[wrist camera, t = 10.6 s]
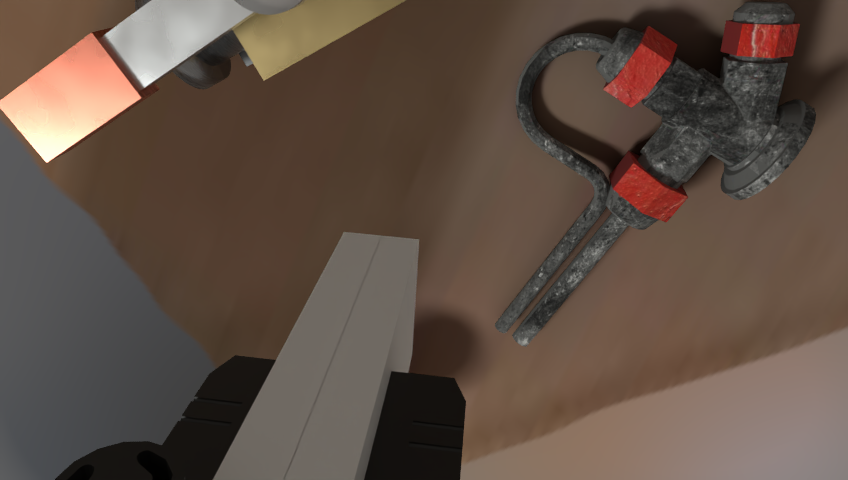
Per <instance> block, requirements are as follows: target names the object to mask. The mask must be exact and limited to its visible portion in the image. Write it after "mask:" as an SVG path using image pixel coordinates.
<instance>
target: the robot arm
mask: <svg viewBox="0 0 848 480" xmlns="http://www.w3.org/2000/svg"><path fill="white" fill-rule="evenodd" d="M418 250H419V239H409V238H399V237H389V236H379V235H369V234H358V233H348V232H344V233H343V235H342V237H341V239H340V241H339V243H338V244H337V246H336V248H335V250H334V252H333V254H332V256H331V258H330V260H329V261H328V263H327V265H326V267H325V269H324V271H323V273H322V275H321V277H320V278H319V280H318V282H317V284H316V286H315V288H314V290H313V292H312V294H311V295H310V297H309V299H308V301H307V303H306V305H305V307H304V309H303V310H302V312H301V314H300V316H299V318H298V320H297V322H296V324H295V326H294V327H293V329H292V331H291V333H290V335H289V337H288V339H287V341H286V343H285V344H284V346H283V348H282V350H281V352H280V354H279V356H278V358H277V360H271V359H263V358H254V357H245V356H236V355H235V356H234V357H232V358H231V359H230V360H228V361H227V362H225V363H224V364H222V365H221V366H220V367H218V368H217V369H215V370H214V371H213V372H212V373H210V374H209V375H208V377H207V378H206V380H205V382H204V383H203V384H202V386H201V387H200V389H199V390H198V392H197V393H196V395H195V397H194V401H193V402H192V401H191V403H190V404H189V405H188V407H187V409H186V410H185V412H184V413H183V415H182V416H181V421H178V422H177V424H176V425H175V427H174V428H173V430H172V431H171V432H170V434H169V436H168V437H167V439H166V440H165V442H164V443H163V445H158V444H155V443H152V442H148V441H147V442H146V441H144V442H122V443H118V444H114V445H111V446H107V447H104V448H100V449H97V450H95V451H93V452H91V453H90V454H88V455H86V456H84V457H82V458H80V459H78V460H76V461H74V462H73V463H72V464H71V465H70V466H69V467H68V468H67V469H66V470H64V471H63V472H62V473H61V474H60V475H59V476H58V477H57V478H56V479H55V480H460V470H461V459H462V446H463V433H464V432H463V431H464V419H465V406H466V401H465V399H464V397H463V395H462V393H461V391H460V389H459V387H458V385H457V383H456V381H455V379H454V378H448V377H439V376H430V375H422V374H413V373H408V372H409V367H410V362H411V358H412V350H413V333H414V317H415V300H416V283H417V266H418Z"/></svg>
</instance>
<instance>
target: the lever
mask: <svg viewBox="0 0 848 480" xmlns="http://www.w3.org/2000/svg"><path fill="white" fill-rule="evenodd" d="M305 1H307V0H151V1H150V2H148V3H147V4H146V5H144V6H143V7H141V8H140V9H139V10H137V11H136V12H135V13H133V14H132V15H131V16H129V17H128V18H127V19H125V20H124V21H122V22H121V23H120V24H118V25H117V26H116V27H114V28H109V29H104V30H100V31H96V32H92V33H90V34H89V35H88V36H86V37H85V38H84V39H82V40H81V41H80V42H78V43H77V44H76V45H74V46H73V47H72V48H70V49H69V50H68V51H66V52H65V53H64V54H62V55H61V56H60V57H58V58H57V59H56V60H54V61H53V62H51V63H50V64H49V65H47V66H46V67H45V68H43V69H42V70H41V71H39V72H38V73H37V74H35V75H34V76H33V77H31V78H30V79H29V80H27V81H26V82H25V83H23V84H22V85H21V86H19V87H18V88H17V89H15V90H14V91H13V92H11V93H10V94H9V95H7V96H6V97H4V98H3V99H2V100H0V108H1V109H2V110H3V112H4V113H5V114H6V115H7V116H8V118H9V119H10V120H11V121H12V122H13V123H14V125H15V126H16V127H17V128H18V129H19V131H20V132H21V133H22V134H23V135H24V136H25V138H26V139H27V140H28V141H29V142H30V144H31V145H32V146H33V147H34V148H35V149H36V151H37V152H38V153H39V154H40V155H41V157H42V158H43V159H44V160H45V161H46V162H49V161H51V160H53V159H55V158H57V157H59V156H61V155H63V154H65V153H67V152H68V151H70V150H71V149H73V148H74V147H76V146H77V145H79V144H80V143H82V142H83V141H85V140H86V139H88V138H89V137H91V136H92V135H93V134H95V133H96V132H98V131H99V130H101V129H102V128H104V127H105V126H107V125H108V124H110V123H111V122H113V121H114V120H115V119H117V118H118V117H120V116H121V115H123V114H124V113H126V112H127V111H129V110H130V109H132V108H133V107H134V106H136V105H137V104H139V103H140V102H142V101H143V100H145V99H146V98H148V97H149V96H151V95H152V94H154V93H155V92H156V91H158V90H159V88H158V87H157V85H156V84H155V83H156V82H158V81H159V80H160V79H162V78H163V77H165V76H166V75H168V74H169V73H171V72H172V71H174V70H175V69H176V68H178V67H179V66H181V65H182V64H184V63H185V62H187V61H188V60H190V59H191V58H192V57H194V56H195V55H197V54H198V53H200V52H201V51H203V50H204V49H206V48H207V47H208V46H210V45H211V44H213V43H214V42H216V41H217V40H219V39H220V38H222V37H223V36H224V35H226V34H227V33H229V32H230V31H232V30H233V29H235V28H236V27H238V26H239V25H240V24H242V23H243V22H245V21H246V20H248V19H249V18H251V17H252V16H253V15H255V14H256V13H259V14H265V15H272V14H279V13H282V12H285V11H288V10H290V9H293V8H296V7H298V6H299V5H301V4H303V3H304V2H305Z"/></svg>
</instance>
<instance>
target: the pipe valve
mask: <svg viewBox="0 0 848 480" xmlns="http://www.w3.org/2000/svg"><path fill="white" fill-rule="evenodd" d="M150 1H151V0H135V8H136V11H137V10H139V9H140V8H141V7H143V6H144V5H146V4H147V3H148V2H150ZM404 1H406V0H307V1H305V2H304V3H303V4H301V5H299V6H298V7H296V8H293V9H290V10H288V11H285V12H282V13H279V14H272V15H265V14H259V13H256V14H255V15H253V16H252V17H251V18H249V19H248V20H246V21H245V22H243V23H242V24H240V25H239V26H238V27H236V28H235V29H233V30H232V31H230V32H229V33H227V34H226V35H224V36H223V37H222V38H220V39H219V40H217V41H216V42H214V43H213V44H211V45H210V46H208V47H207V48H206V49H204V50H203V51H201V52H200V53H198V54H197V55H195V56H194V57H192V58H191V59H190V60H188V61H187V62H185V63H184V64H182V65H181V66H179V67H178V68H176V69H175V70H174V71H172V72H173V73H175V74H176V75H177V76H178V77H179V78H180V79H182V80H183V81H184V82H186V83H187V84H189V85H191V86H193V87H195V88H198V89H208V88H210V87H212V86H213V85H215V84H217V83H218V82H220V81H222V80H224V79H225V78H227V77H228V76H229V74H230V70H231V62H230V58H231V57H233V56H235V55H236V54H238V53H239V55H240V56H241V58H242V59H243V61H244V63H245V64H246V66H249V65H250V64H252V63H253V64H254V65H255V67H256V69H257V70H258V72H259V74H260V75H261V77H262V78H263V80H266V79H268V78H269V77H271V76H273V75H275V74H276V73H278V72H280V71H282V70H284V69H285V68H287V67H289V66H291V65H292V64H294V63H296V62H298V61H299V60H301V59H303V58H305V57H307V56H308V55H310V54H312V53H314V52H315V51H317V50H319V49H321V48H322V47H324V46H326V45H328V44H330V43H331V42H333V41H335V40H337V39H338V38H340V37H342V36H344V35H345V34H347V33H349V32H351V31H353V30H354V29H356V28H358V27H360V26H361V25H363V24H365V23H367V22H368V21H370V20H372V19H374V18H376V17H377V16H379V15H381V14H383V13H384V12H386V11H388V10H390V9H391V8H393V7H395V6H397V5H399V4H400V3H402V2H404Z"/></svg>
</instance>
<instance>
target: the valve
mask: <svg viewBox="0 0 848 480" xmlns="http://www.w3.org/2000/svg"><path fill="white" fill-rule="evenodd" d="M794 17H795V13H794V12H793V10H792V9H791V8H790V7H789V5H788V4H787V3H778V2H746V3H745V4H743V5H742V6H741V7H740V8H738V9H737V10H736V11H734V16H733V20H729V21H726V24H725V30H724V35H723V41H722V46H721V52H724V53H728V54H729V56H728V57H723V61H722V67H721V73H720V78H717V77H716V76H714V75H713V74H711V73H710V72H708V71H707V70H705V69H703V68H701V69H699V70H695V69H694V68H692V67H691V66H689V65H687V64H686V63H684V62H683V61H681V60H680V59H678V58H677V57H675V56H674V54H675V51H676V48H677V44H676V43H674V42H673V41H671V40H670V39H668V38H667V37H665V36H664V35H662V34H661V33H659V32H658V31H656V30H655V29H653V28H652V27H650V26H647V27H646V28H645V29H644V30H643V31H642V32H639V31H636V30H633V29H629V28H626V27H624V28H622V29H620V30H619V31H618V32H617V33H616V35H615V36H614V37H613V38H612V39H610V38H608V37H606V36H602V35H598V34H593V33H574V34H570V35H565V36H561V37H559V38H557V39H555V40H553V41H551V42H549V43H547V44H546V45H545V46H543V47H542V48H541V49H539V50H538V51H537V52H536V53H535V54H534V55H533V57H532V58H531V59H530V60H529V61H528V63H527V64H526V66H525V68H524V70H523V72H522V74H521V76H520V78H519V82H518V86H517V90H516V109H517V114H518V119H519V121H520V123H521V125H522V127H523V130H524V131H525V133H526V134H527V135H528V137H529V138H530V139H531V141H532V142H533V143H535V144H536V145H537V146H538V147H540V148H541V149H542V150H543V151H545V152H546V153H548V154H549V155H551V156H552V157H554V158H556V159H557V160H559V161H560V162H562V163H563V164H565V165H566V166H568V167H569V168H571V169H572V170H574V171H576V172H577V173H579V174H580V175H582V176H583V177H585V178H586V179H588V180H589V181H590V182H591V183H592V185H593V187H594V191H595V193H594V198H593V199H592V201H591V203H590V204H589V205H588V207H587V208H586V209H585V210H584V212H583V213H582V214H581V215H580V217H579V218H578V219H577V221H576V222H575V223H574V224H573V226H572V227H571V228H570V229H569V231H568V232H567V233H566V234H565V236H564V237H563V238H562V240H561V241H560V242H559V243H558V245H557V246H556V247H555V248H554V250H553V251H552V252H551V253H550V255H549V256H548V257H547V259H546V260H545V261H544V262H543V264H542V265H541V266H540V267H539V269H538V270H537V271H536V273H535V274H534V275H533V276H532V278H531V279H530V280H529V281H528V283H527V284H526V285H525V286H524V288H523V289H522V290H521V292H520V293H519V294H518V295H517V297H516V298H515V299H514V300H513V302H512V303H511V304H510V306H509V307H508V308H507V309H506V311H505V312H504V313H503V314H502V316H501V317H500V318H499V319H498V321H497V322H496V323H495V327H496V329H497V330H499V331H500V332H502V333H506V332H507V331H508V330H509V328H510V327H511V326H512V325H513V323H514V322H515V321H516V320H517V318H518V317H519V316H520V315H521V313H522V312H523V311H524V310H525V308H526V307H527V306H528V305H529V304H530V302H531V301H532V300H533V299H534V297H535V296H536V295H537V294H538V292H539V291H540V290H541V289H542V287H543V286H544V285H545V284H546V282H547V281H548V280H549V279H550V277H551V276H552V275H553V274H554V272H555V271H556V270H557V269H558V268H559V266H560V265H561V264H562V263H563V261H564V260H565V259H566V258H567V256H568V255H569V254H570V253H571V251H572V250H573V249H574V248H575V246H576V245H577V244H578V243H579V241H580V240H581V239H582V238H583V237H584V235H585V234H586V233H587V232H588V230H589V229H590V228H591V227H592V225H593V224H594V223H595V222H596V220H597V219H598V218H599V217H600V215H601V214H602V213H603V212H604V210H605V208H606V206H607V207H608V209H609V210H610V211H611V212H612V214H611V215H610V216H609V217H608V219H607V220H606V221H605V222H604V223H603V225H602V226H601V227H600V228H599V230H598V231H597V232H596V233H595V234H594V236H593V237H592V238H591V239H590V241H589V242H588V243H587V244H586V245H585V247H584V248H583V249H582V250H581V252H580V253H579V254H578V255H577V256H576V258H575V259H574V260H573V261H572V263H571V264H570V265H569V266H568V267H567V269H566V270H565V271H564V272H563V274H562V275H561V276H560V277H559V278H558V280H557V281H556V282H555V283H554V284H553V286H552V287H551V288H550V289H549V291H548V292H547V293H546V294H545V295H544V297H543V298H542V299H541V300H540V302H539V303H538V304H537V305H536V306H535V308H534V309H533V310H532V311H531V313H530V314H529V315H528V316H527V317H526V319H525V320H524V321H523V322H522V324H521V325H520V326H519V327H518V328H517V330H516V331H515V332H514V333H513V335H512V336H513V338H514V340H515V341H516V342H517V343H518V344H520V345H522V346H527V345H528V344H529V343H530V342H531V340H532V339H533V338H534V337H535V336H536V334H537V333H538V332H539V331H540V330H541V329H542V327H543V326H544V325H545V324H546V323H547V321H548V320H549V319H550V318H551V317H552V315H553V314H554V313H555V312H556V311H557V310H558V308H559V307H560V306H561V305H562V304H563V302H564V301H565V300H566V299H567V298H568V297H569V295H570V294H571V293H572V292H573V291H574V289H575V288H576V287H577V286H578V285H579V283H580V282H581V281H582V280H583V279H584V278H585V276H586V275H587V274H588V273H589V272H590V270H591V269H592V268H593V267H594V266H595V265H596V263H597V262H598V261H599V260H600V259H601V257H602V256H603V255H604V254H605V253H606V252H607V250H608V249H609V248H610V247H611V246H612V244H613V243H614V242H615V241H616V240H617V238H618V237H619V236H620V235H621V234H622V233H623V231H624V230H625V229H626V228H627V227H628V225H629V226H631V227H633V228H636V229H641V230H643V229H646V228H647V227H649V226H650V225H652V224H653V223H655V222H656V221H658V220H662V221H664V222H667V221H668V220H669V219H670V218H671V216H672V215H673V214H674V213H675V212H676V211H677V210H678V208H679V207H680V206H681V205H682V204H683V203H684V202H685V200H686V199H687V198H688V196H687V194H686V192H685V190H684V189H683V187H682V185H681V184H682V183H683V182H687V181H688V180H689V179H690V178H691V177H692V176H693V174H694V173H695V172H696V171H697V170H698V168H699V167H700V166H701V165H702V164H703V163H704V161H705V160H706V159H707V158H708V157H709V155H713V156H715V157H716V158H718V159H719V160H721V161H723V162H724V166H725V168H724V172H723V175H722V178H721V189H722V191H723V192H724V193H726V194H727V195H729V196H730V197H732V198H733V199H736V200H742V199H746V198H749V197H751V196H753V195H755V194H757V193H758V192H760V191H761V190H763V189H764V188H765V187H767V186H768V185H769V184H770V183H772V182H773V181H774V180H775V179H776V178H777V177H778V176H779V175H780V174H781V173H782V172H783V171H784V170H785V169H786V168H787V167H788V166H789V165H790V164H791V162H792V161H793V160H794V159H795V158H796V156H797V155H798V154H799V152H800V151H801V149H802V148H803V146H804V145H805V143H806V142H807V140H808V138H809V136H810V134H811V132H812V129H813V126H814V124H815V118H816V113H815V110H814V108H812V107H811V106H809V105H808V104H806V103H805V102H803V101H802V100H792V101H789V102H786V103H784V104H783V105H781V106H779V107H778V103H779V99H780V95H781V91H782V86H783V82H784V78H785V74H786V69H787V65H788V63H787V62H785V61H783V60H781V59H782V57H788V56H793V53H794V48H795V44H796V39H797V35H798V31H799V26H800V24H798V23H793V21H794ZM576 50H589V51H593V52H597V53H600V54H601V56H600V58H599V59H598V61H597V63H596V69H597V70H598V71H599V73H600V74H601V75H602V76H603V78H604V79H605V80H606V81H607V82H606V84H605V86H604V88H603V90H605V91H606V92H608V93H609V94H611V95H612V96H614V97H615V98H617V99H618V100H620V101H622V102H623V103H625V104H626V105H628V106H629V107H633V106H634V105H635V104H637V103H638V102H639V101H641V100H642V103H643V105H645V106H646V107H648V108H649V109H651V110H652V111H654V112H655V113H657V114H658V115H660V116H661V117H662V125H661V126H660V128H659V129H658V130H657V131H656V132H655V134H654V135H653V136H652V137H651V139H650V140H649V141H648V142H647V143H646V145H645V146H644V147H643V148H642V150H641V151H640V152H641V154H642V155H641V156H639V155H637V154H635V153H633V152H630V151H628V152H627V154H626V155H625V156H624V157H623V159H622V160H621V161H620V163H619V164H618V165H617V166H616V168H615V169H614V170H613V171H612V173H611V174H610V175H609V178H610V181H611V184H610V187H609V181H608V179H607V178H606V176H605V174H604V172H603V171H602V170H600V169H599V168H598V167H597V166H596V165H595V164H593V163H591V162H590V161H588V160H587V159H585V158H584V157H582V156H581V155H579V154H578V153H576V152H575V151H573V150H572V149H570V148H568V147H567V146H565V145H564V144H562V143H561V142H559V141H558V140H556V139H555V138H553V137H552V136H550V135H549V134H548V133H547V132H546V131H544V130H543V128H542V127H541V126H540V124H539V123H538V122H537V119H536V117H535V115H534V112H533V107H532V90H533V87H534V83H535V81H536V79H537V77H538V75H539V73H540V72H541V71H542V69H543V68H544V67H545V66H546V65H547V64H548V63H549V62H551V61H552V60H553V59H554V58H556V57H558V56H560V55H562V54H564V53H567V52H571V51H576Z"/></svg>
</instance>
